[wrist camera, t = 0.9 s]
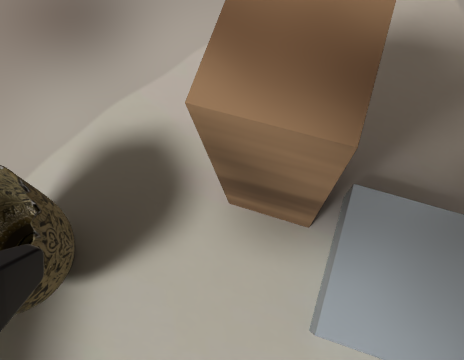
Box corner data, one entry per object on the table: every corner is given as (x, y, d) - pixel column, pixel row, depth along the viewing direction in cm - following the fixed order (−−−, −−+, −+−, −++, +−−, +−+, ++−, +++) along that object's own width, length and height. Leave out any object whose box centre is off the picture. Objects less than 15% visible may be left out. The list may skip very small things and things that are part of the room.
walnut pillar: (308, 227, 23) (357, 147, 10) (229, 203, 23) (184, 102, 11) (330, 151, 24) (396, -3, 11) (253, 131, 25) (238, -33, 12)
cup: (114, 198, 24) (44, 154, 17) (102, 321, 22) (15, 336, 15) (4, 199, 25) (-113, 158, 17) (-18, 319, 23) (-162, 332, 15)
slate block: (457, 382, 20) (489, 397, 17) (308, 329, 21) (314, 335, 18) (481, 237, 22) (513, 228, 19) (343, 197, 23) (353, 183, 20)
